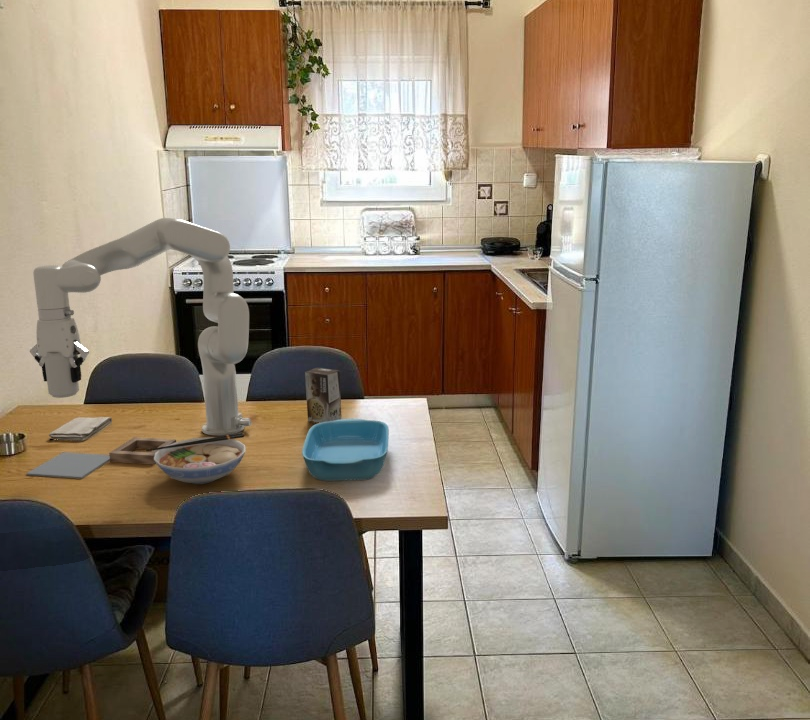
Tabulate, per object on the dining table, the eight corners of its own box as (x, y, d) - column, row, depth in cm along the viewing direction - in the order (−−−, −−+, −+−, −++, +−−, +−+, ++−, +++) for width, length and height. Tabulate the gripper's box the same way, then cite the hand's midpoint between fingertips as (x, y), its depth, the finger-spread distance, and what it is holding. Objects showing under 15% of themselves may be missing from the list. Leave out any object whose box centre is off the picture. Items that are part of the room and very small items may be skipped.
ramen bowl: (157, 504, 189) (154, 471, 187) (146, 471, 210) (143, 442, 208) (261, 486, 199) (259, 455, 197) (241, 457, 219) (239, 428, 217)
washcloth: (47, 442, 235) (46, 432, 234) (76, 423, 252) (75, 414, 252) (86, 443, 234) (85, 433, 233) (113, 423, 251) (112, 414, 251)
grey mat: (115, 457, 221) (115, 455, 221) (81, 478, 206) (81, 477, 205) (63, 453, 224) (63, 452, 224) (26, 475, 209) (26, 473, 209)
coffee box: (342, 420, 250) (340, 370, 246) (329, 425, 245) (327, 374, 241) (319, 415, 255) (317, 366, 251) (306, 421, 249) (304, 371, 246)
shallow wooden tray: (176, 447, 227) (175, 439, 227) (154, 464, 215) (153, 455, 214) (134, 445, 230) (134, 437, 229) (110, 461, 217) (109, 452, 217)
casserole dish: (312, 440, 232) (311, 417, 231) (389, 439, 233) (388, 415, 231) (298, 490, 197) (296, 463, 195) (389, 488, 197) (388, 461, 195)
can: (72, 398, 206) (67, 353, 204) (43, 398, 207) (37, 353, 204) (84, 390, 214) (79, 346, 211) (56, 390, 214) (51, 347, 211)
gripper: (93, 312, 207) (100, 378, 211) (33, 311, 210) (42, 375, 215) (76, 317, 200) (84, 385, 204) (14, 316, 203) (23, 383, 207)
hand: (62, 380), depth 209 cm, fingers closed on can, 7 cm apart
